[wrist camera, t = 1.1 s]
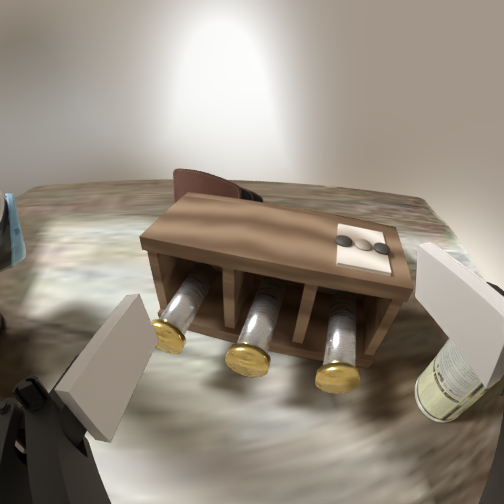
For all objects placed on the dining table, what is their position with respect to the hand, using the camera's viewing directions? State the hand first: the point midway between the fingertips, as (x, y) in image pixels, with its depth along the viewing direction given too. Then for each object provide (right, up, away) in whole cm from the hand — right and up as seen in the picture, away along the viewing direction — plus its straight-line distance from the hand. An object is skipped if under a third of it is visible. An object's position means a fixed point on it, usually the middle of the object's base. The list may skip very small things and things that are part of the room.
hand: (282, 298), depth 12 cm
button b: (0, -8, +23) cm, 25 cm away
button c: (-10, -7, +25) cm, 28 cm away
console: (+2, -8, +33) cm, 34 cm away
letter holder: (-10, +9, +58) cm, 59 cm away
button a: (+9, -10, +21) cm, 25 cm away
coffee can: (+27, -20, +19) cm, 39 cm away
